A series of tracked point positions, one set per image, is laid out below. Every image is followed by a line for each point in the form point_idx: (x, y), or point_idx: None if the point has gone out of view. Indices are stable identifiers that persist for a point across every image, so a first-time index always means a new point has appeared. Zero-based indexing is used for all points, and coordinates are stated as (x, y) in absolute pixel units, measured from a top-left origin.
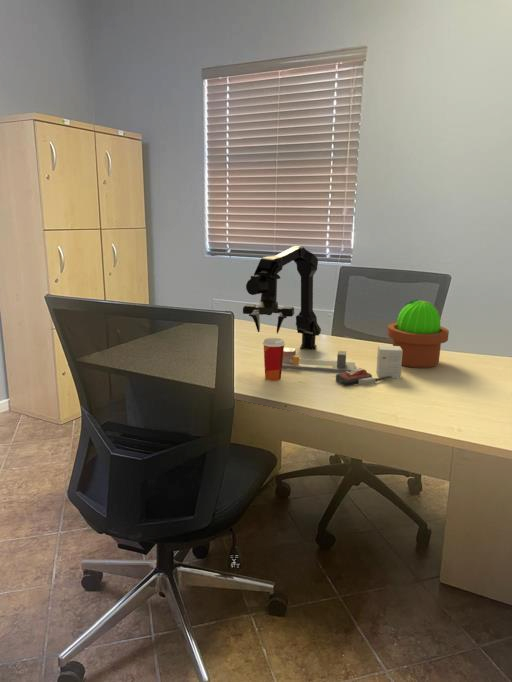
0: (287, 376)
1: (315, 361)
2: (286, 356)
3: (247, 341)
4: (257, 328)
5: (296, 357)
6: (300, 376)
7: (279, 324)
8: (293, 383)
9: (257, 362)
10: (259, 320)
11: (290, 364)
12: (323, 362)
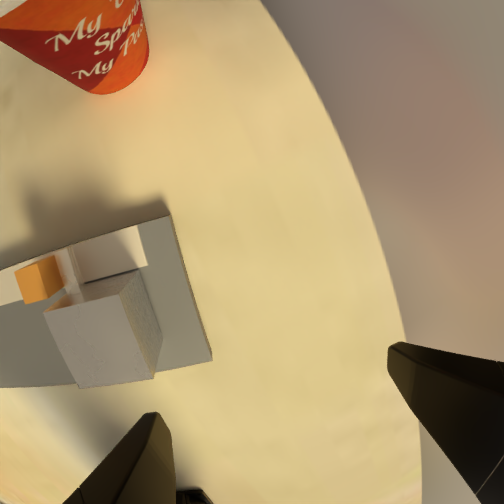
0: (58, 124)
1: (31, 365)
2: (97, 289)
3: (399, 453)
4: (432, 353)
5: (24, 267)
6: (13, 161)
7: (79, 499)
8: (24, 66)
9: (294, 266)
10: (461, 469)
11: (81, 263)
12: (7, 362)
